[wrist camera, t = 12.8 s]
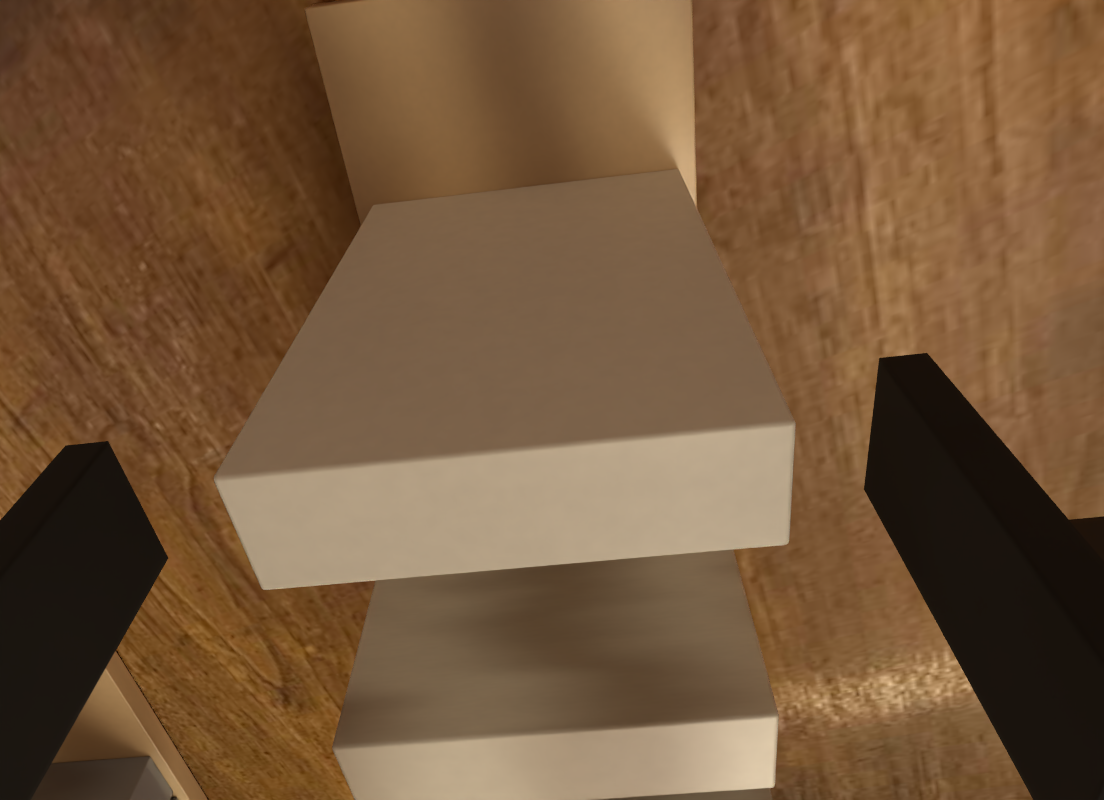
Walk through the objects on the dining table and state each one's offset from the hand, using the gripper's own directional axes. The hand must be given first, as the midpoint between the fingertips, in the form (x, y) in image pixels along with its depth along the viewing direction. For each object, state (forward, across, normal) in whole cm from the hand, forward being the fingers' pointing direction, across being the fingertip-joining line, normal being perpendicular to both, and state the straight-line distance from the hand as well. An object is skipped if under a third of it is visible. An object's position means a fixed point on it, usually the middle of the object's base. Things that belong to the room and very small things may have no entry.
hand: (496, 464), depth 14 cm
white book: (+12, 0, 0) cm, 12 cm away
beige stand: (+13, 0, -3) cm, 13 cm away
